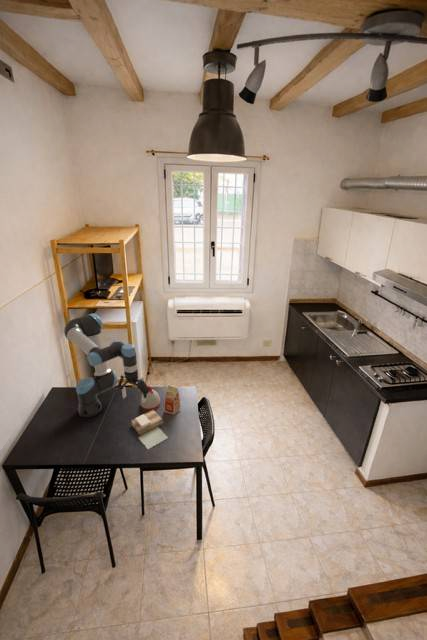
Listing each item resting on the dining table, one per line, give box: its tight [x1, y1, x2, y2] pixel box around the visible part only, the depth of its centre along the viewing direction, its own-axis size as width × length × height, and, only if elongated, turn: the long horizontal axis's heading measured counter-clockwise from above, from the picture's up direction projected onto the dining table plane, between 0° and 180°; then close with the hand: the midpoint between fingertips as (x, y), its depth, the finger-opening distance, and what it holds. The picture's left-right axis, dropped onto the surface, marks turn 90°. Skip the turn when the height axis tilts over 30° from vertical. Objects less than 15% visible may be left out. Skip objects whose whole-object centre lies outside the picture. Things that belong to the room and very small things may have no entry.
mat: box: [137, 426, 169, 450], centre depth 191 cm, size 12×14×1 cm
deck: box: [130, 409, 164, 437], centre depth 200 cm, size 12×16×4 cm
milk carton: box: [163, 384, 181, 415], centre depth 211 cm, size 9×9×20 cm
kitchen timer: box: [140, 384, 161, 411], centre depth 217 cm, size 14×14×15 cm
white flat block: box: [134, 413, 151, 428], centre depth 197 cm, size 9×6×2 cm, turn 40°
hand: (134, 399), depth 188 cm, fingers open, 13 cm apart
